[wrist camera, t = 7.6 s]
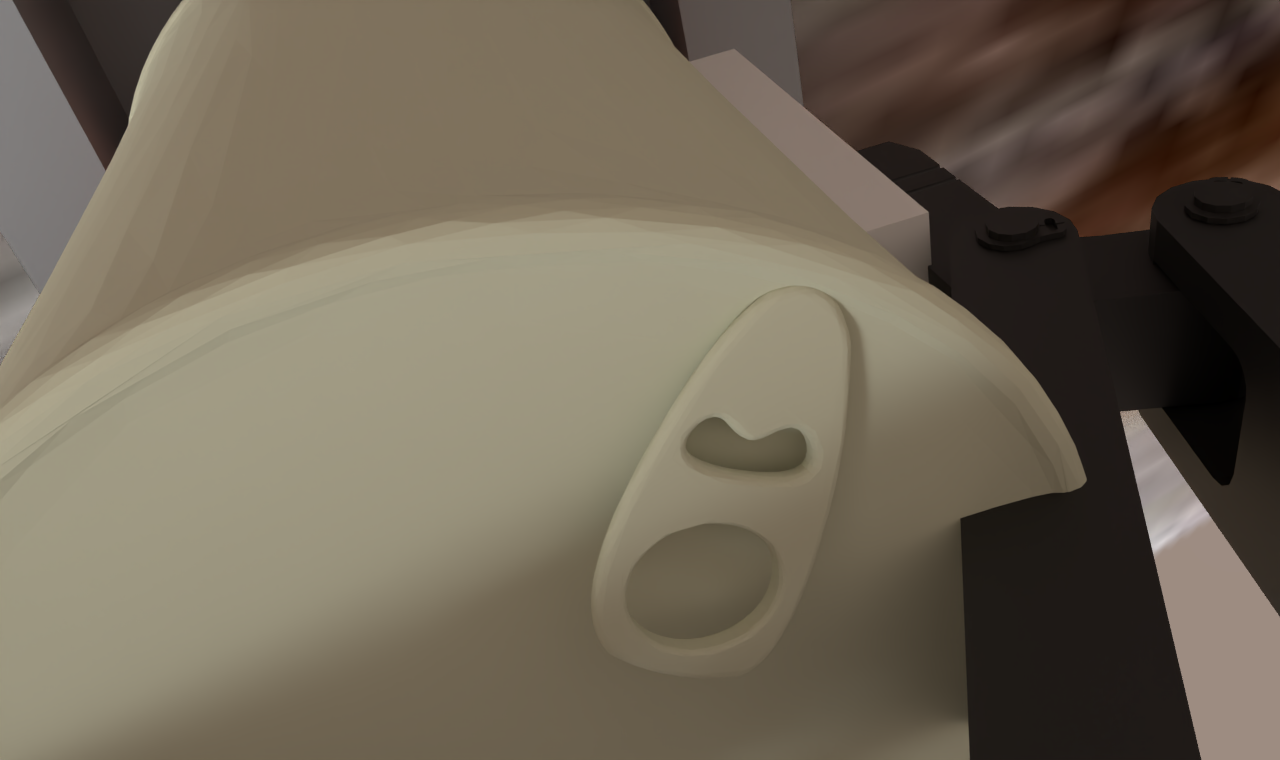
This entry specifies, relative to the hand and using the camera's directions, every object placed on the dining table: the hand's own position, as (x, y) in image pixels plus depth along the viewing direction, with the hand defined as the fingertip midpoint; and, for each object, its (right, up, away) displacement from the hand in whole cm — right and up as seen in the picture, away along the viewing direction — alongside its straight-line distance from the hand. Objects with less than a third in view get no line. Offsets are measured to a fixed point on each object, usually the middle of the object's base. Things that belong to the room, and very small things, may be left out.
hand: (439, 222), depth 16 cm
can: (0, +1, +1) cm, 1 cm away
